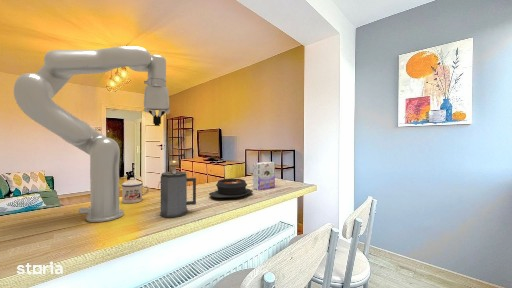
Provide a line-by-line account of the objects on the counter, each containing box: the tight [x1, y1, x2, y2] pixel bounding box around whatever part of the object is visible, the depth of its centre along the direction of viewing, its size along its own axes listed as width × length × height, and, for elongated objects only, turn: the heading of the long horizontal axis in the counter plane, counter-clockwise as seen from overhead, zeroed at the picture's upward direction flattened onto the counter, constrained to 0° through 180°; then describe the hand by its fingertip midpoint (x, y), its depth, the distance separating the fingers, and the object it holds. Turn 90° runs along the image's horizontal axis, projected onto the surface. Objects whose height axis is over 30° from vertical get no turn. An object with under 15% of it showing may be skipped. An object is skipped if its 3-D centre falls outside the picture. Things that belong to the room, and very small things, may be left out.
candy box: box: [252, 161, 276, 191], centre depth 144 cm, size 14×6×16 cm, turn 128°
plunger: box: [169, 160, 180, 174], centre depth 95 cm, size 8×8×20 cm
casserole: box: [208, 178, 254, 199], centre depth 125 cm, size 25×19×8 cm
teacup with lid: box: [121, 177, 150, 204], centre depth 113 cm, size 12×9×12 cm
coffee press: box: [159, 170, 197, 219], centre depth 96 cm, size 14×11×17 cm
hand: (157, 125), depth 102 cm, fingers closed
